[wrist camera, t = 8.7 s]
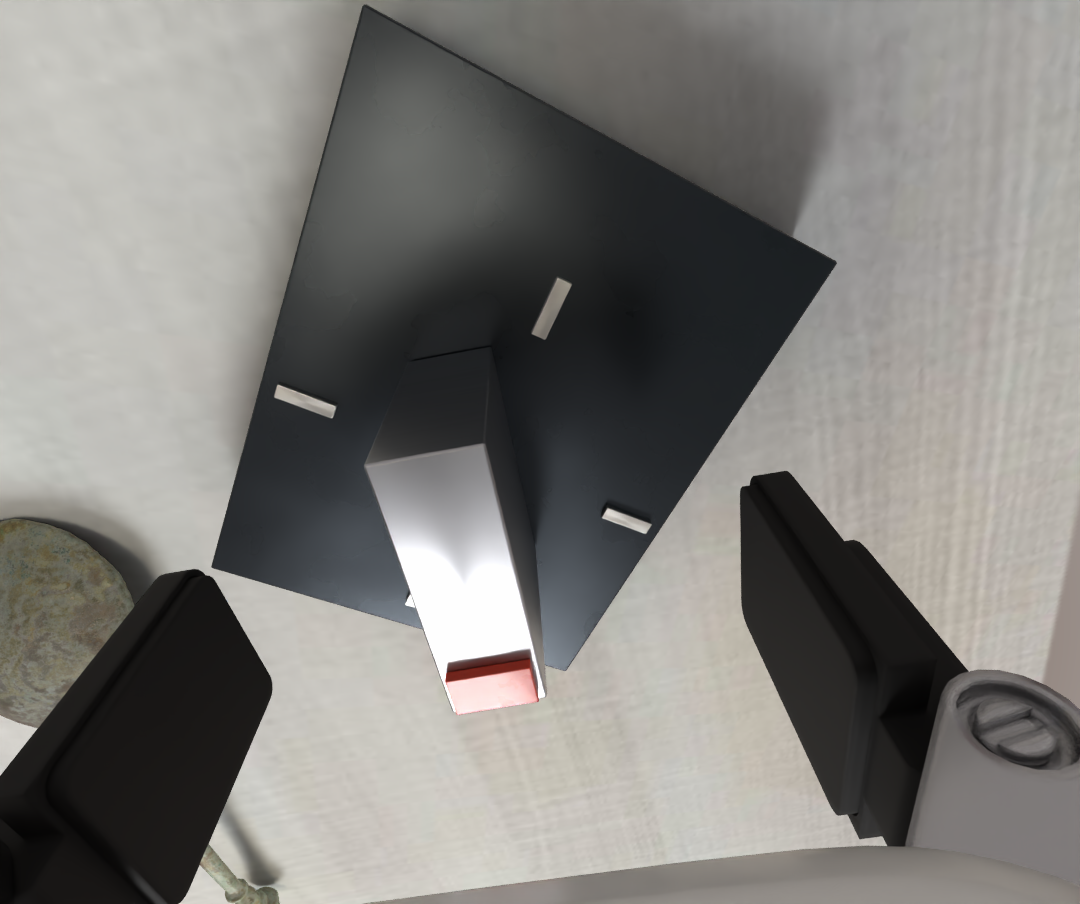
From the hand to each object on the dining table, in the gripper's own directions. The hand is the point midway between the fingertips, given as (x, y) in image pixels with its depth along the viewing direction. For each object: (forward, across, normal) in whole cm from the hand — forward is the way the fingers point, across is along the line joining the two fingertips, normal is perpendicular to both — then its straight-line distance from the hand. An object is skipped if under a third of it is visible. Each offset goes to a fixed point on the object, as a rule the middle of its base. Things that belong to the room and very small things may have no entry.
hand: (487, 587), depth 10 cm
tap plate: (+8, 0, 0) cm, 8 cm away
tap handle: (+5, +1, 0) cm, 5 cm away
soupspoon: (+7, +16, +12) cm, 21 cm away
